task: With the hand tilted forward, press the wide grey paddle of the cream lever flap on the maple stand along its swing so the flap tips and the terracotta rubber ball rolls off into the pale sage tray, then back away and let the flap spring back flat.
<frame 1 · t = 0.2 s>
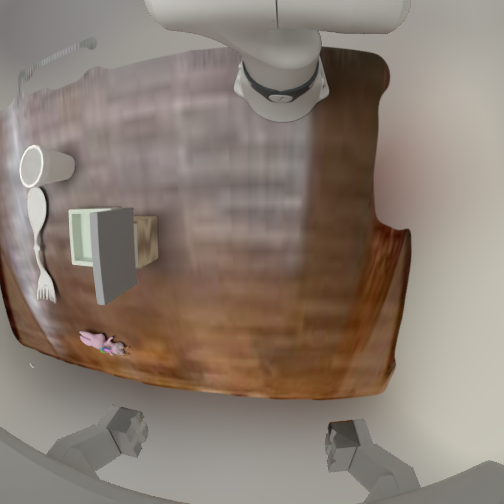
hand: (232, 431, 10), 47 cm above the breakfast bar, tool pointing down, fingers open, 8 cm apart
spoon: (43, 244, 63), on the breakfast bar
tray: (99, 235, 60), on the breakfast bar
rabbit figure: (107, 339, 66), on the breakfast bar
foam cup: (67, 167, 58), on the breakfast bar
lever flap: (99, 250, 44), point 15 cm above the breakfast bar, hinge at 0.0°, touching ball
stand: (139, 236, 59), on the breakfast bar
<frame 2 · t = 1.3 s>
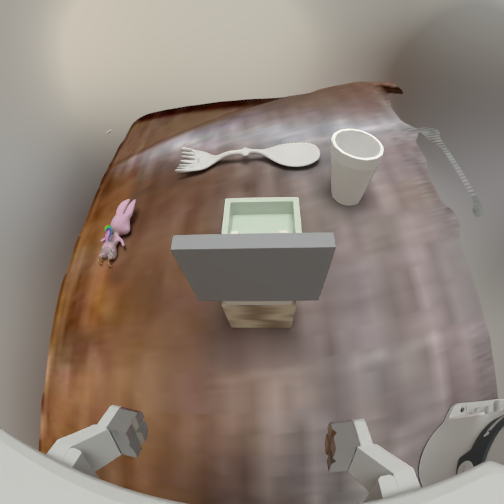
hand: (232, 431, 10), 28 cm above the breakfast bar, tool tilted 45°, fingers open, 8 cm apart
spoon: (249, 162, 63), on the breakfast bar
tray: (262, 240, 50), on the breakfast bar
rabbit figure: (122, 236, 53), on the breakfast bar
foam cup: (346, 195, 55), on the breakfast bar
lever flap: (256, 244, 31), point 15 cm above the breakfast bar, hinge at 0.0°, touching ball
stand: (261, 300, 44), on the breakfast bar
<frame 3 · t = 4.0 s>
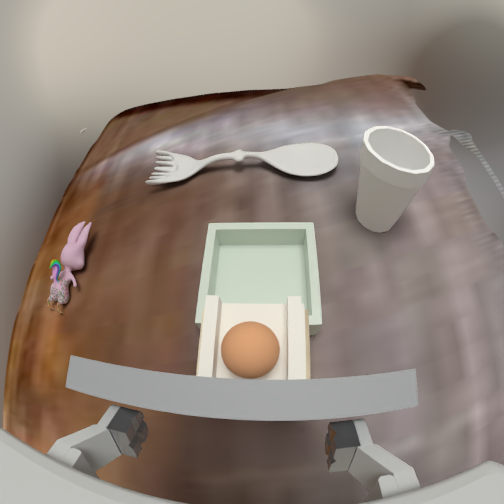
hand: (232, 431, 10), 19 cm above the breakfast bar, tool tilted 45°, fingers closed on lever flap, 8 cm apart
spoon: (243, 169, 48), on the breakfast bar
tray: (260, 284, 35), on the breakfast bar
rabbit figure: (76, 271, 38), on the breakfast bar
ball: (250, 350, 19), point 12 cm above the breakfast bar, tilted 23°, touching lever flap
foam cup: (374, 216, 40), on the breakfast bar
lever flap: (246, 342, 16), point 15 cm above the breakfast bar, hinge at 0.0°, touching ball, gripper
stand: (258, 376, 29), on the breakfast bar
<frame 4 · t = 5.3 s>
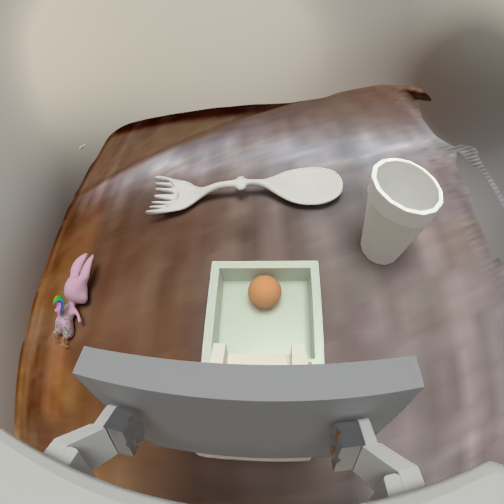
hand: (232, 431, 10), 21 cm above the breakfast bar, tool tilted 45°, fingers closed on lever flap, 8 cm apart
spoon: (246, 196, 47), on the breakfast bar
tray: (264, 322, 35), on the breakfast bar
rabbit figure: (80, 304, 38), on the breakfast bar
ball: (264, 291, 34), point 3 cm above the breakfast bar, tilted 50°, touching tray
foam cup: (379, 247, 39), on the breakfast bar
lever flap: (252, 372, 16), point 17 cm above the breakfast bar, hinge at 19.9°, touching gripper
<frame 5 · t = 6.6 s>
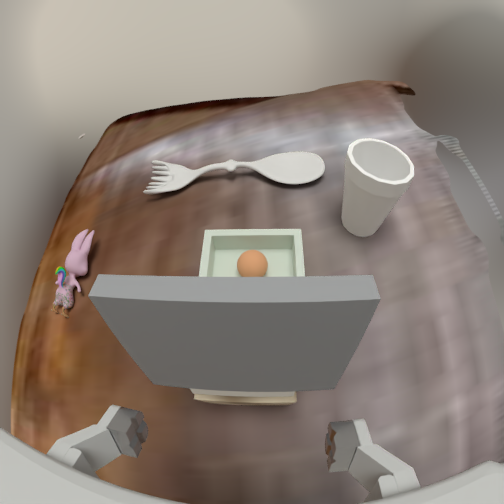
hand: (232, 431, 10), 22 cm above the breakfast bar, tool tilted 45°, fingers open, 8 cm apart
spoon: (235, 178, 51), on the breakfast bar
tray: (252, 286, 38), on the breakfast bar
rabbit figure: (80, 277, 41), on the breakfast bar
ball: (252, 265, 37), point 3 cm above the breakfast bar, tilted 13°, touching tray
foam cup: (359, 221, 44), on the breakfast bar
lever flap: (239, 306, 20), point 16 cm above the breakfast bar, hinge at 15.6°
stand: (250, 369, 32), on the breakfast bar
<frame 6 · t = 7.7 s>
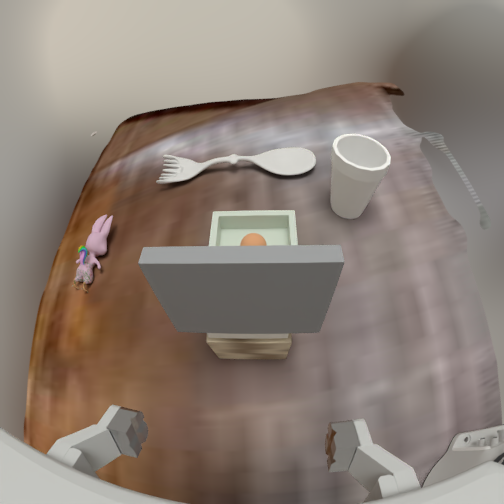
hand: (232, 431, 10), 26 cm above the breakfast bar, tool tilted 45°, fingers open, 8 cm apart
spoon: (237, 170, 57), on the breakfast bar
tray: (254, 258, 45), on the breakfast bar
rabbit figure: (98, 257, 47), on the breakfast bar
ball: (253, 246, 43), point 3 cm above the breakfast bar, tilted 19°, touching tray
foam cup: (346, 206, 50), on the breakfast bar
lever flap: (245, 265, 26), point 16 cm above the breakfast bar, hinge at 7.5°
stand: (252, 328, 39), on the breakfast bar
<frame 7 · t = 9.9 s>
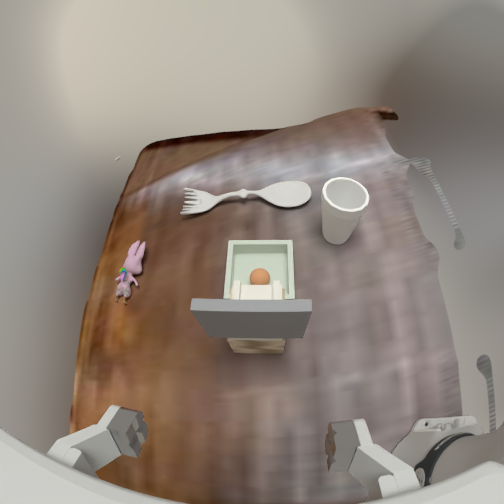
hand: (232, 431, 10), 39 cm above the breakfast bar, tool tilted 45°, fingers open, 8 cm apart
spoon: (246, 201, 71), on the breakfast bar
tray: (260, 277, 59), on the breakfast bar
rabbit figure: (134, 275, 61), on the breakfast bar
ball: (259, 278, 56), point 3 cm above the breakfast bar, tilted 82°, touching tray
foam cup: (335, 233, 64), on the breakfast bar
lever flap: (254, 297, 40), point 15 cm above the breakfast bar, hinge at 0.4°
stand: (259, 330, 52), on the breakfast bar
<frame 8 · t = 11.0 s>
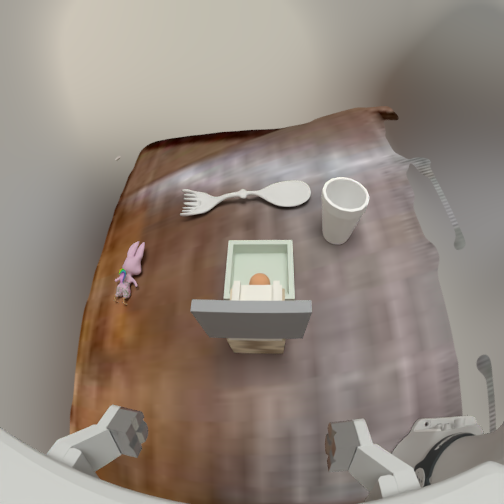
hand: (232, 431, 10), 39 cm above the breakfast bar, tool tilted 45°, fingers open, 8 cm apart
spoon: (246, 202, 71), on the breakfast bar
tray: (260, 277, 59), on the breakfast bar
rabbit figure: (133, 276, 61), on the breakfast bar
ball: (259, 283, 55), point 3 cm above the breakfast bar, tilted 113°, touching tray
foam cup: (335, 233, 64), on the breakfast bar
lever flap: (254, 298, 40), point 15 cm above the breakfast bar, hinge at 0.0°
stand: (259, 330, 52), on the breakfast bar
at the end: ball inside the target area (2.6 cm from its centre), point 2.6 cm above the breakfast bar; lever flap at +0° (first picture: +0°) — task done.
